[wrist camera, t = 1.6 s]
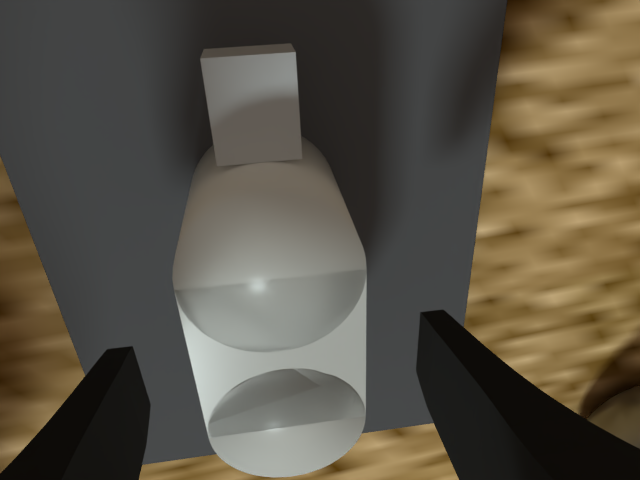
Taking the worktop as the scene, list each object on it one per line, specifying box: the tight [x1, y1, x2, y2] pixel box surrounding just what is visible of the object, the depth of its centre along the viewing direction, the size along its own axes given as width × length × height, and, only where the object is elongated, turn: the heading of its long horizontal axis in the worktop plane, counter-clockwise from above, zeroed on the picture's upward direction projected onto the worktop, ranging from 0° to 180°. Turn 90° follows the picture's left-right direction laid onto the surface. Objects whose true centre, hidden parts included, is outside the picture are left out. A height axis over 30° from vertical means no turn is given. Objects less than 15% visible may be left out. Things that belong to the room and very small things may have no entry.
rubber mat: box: [0, 0, 507, 465], centre depth 17 cm, size 18×14×1 cm
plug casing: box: [172, 43, 367, 477], centre depth 14 cm, size 12×4×4 cm, turn 2°
